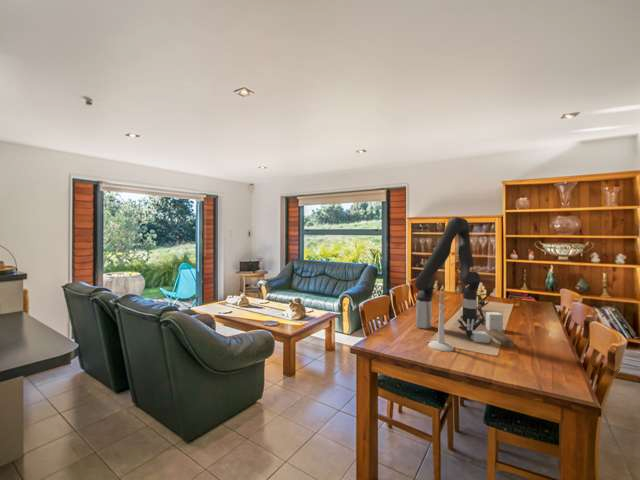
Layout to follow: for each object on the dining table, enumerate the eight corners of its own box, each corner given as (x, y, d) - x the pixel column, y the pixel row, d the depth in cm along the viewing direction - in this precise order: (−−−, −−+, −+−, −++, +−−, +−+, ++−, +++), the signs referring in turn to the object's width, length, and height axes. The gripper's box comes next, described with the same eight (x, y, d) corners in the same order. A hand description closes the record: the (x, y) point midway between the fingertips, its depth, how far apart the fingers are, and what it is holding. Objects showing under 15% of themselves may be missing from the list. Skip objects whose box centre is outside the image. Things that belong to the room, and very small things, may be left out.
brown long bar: (505, 346, 166) (505, 340, 166) (489, 334, 186) (489, 328, 186) (513, 347, 166) (513, 340, 166) (496, 334, 186) (496, 329, 185)
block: (474, 342, 174) (474, 335, 174) (469, 337, 182) (470, 330, 182) (489, 343, 173) (490, 336, 173) (484, 338, 181) (484, 331, 181)
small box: (498, 328, 198) (499, 312, 197) (502, 331, 192) (503, 314, 192) (485, 328, 198) (485, 311, 198) (489, 331, 193) (489, 314, 192)
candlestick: (442, 353, 157) (443, 294, 156) (423, 345, 168) (423, 290, 167) (459, 349, 163) (460, 292, 162) (439, 341, 174) (440, 288, 173)
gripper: (459, 307, 174) (458, 338, 175) (484, 308, 173) (483, 339, 173) (455, 304, 182) (455, 333, 182) (479, 305, 180) (478, 334, 181)
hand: (469, 336), depth 178 cm, fingers closed
